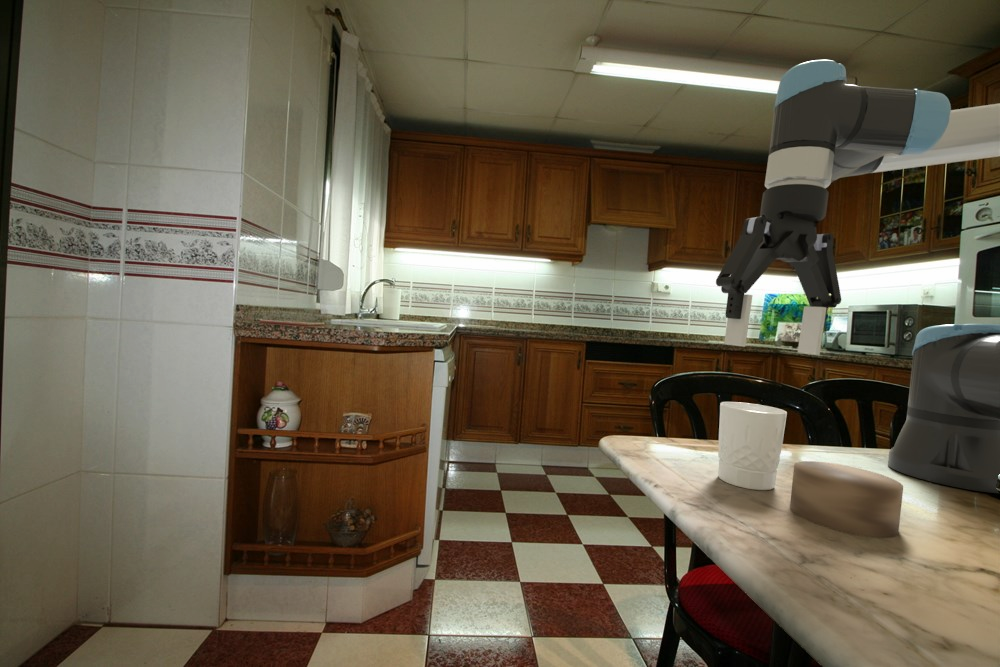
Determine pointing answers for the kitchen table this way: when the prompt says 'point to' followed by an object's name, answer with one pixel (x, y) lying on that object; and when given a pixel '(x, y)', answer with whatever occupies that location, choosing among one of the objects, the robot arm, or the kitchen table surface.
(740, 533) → the kitchen table surface
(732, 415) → the white cup
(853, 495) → the walnut block
